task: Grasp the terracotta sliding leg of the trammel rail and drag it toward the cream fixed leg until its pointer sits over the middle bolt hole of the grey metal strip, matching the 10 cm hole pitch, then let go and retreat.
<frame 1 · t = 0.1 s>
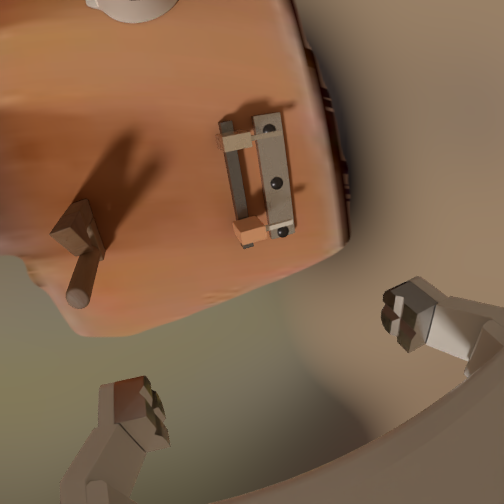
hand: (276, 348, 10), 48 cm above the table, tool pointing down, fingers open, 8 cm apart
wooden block: (88, 227, 52), on the table
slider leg: (263, 225, 57), point 5 cm above the table, slide at 7.0 cm
rail: (235, 185, 57), on the table
hole strip: (273, 176, 58), on the table
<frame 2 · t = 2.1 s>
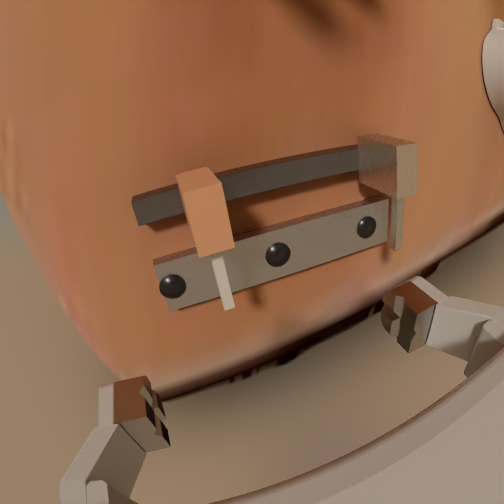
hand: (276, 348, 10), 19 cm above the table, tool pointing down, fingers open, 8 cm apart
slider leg: (211, 243, 23), point 5 cm above the table, slide at 7.0 cm
rail: (272, 171, 27), on the table
hole strip: (283, 246, 31), on the table
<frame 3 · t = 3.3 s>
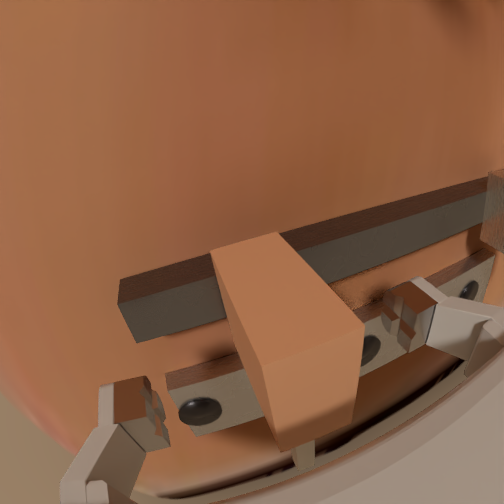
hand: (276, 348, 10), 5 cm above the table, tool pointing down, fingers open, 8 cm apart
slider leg: (286, 388, 11), point 5 cm above the table, slide at 7.0 cm
rail: (373, 225, 15), on the table
hole strip: (366, 334, 19), on the table
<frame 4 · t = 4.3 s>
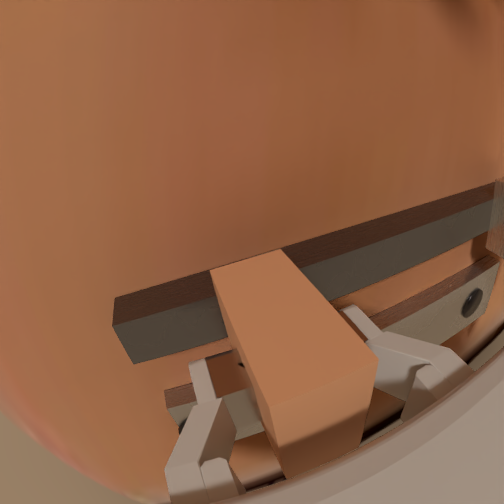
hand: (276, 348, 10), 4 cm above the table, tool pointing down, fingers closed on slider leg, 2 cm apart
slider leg: (291, 410, 10), point 5 cm above the table, slide at 7.0 cm, touching gripper
rail: (378, 237, 14), on the table
hole strip: (369, 345, 18), on the table
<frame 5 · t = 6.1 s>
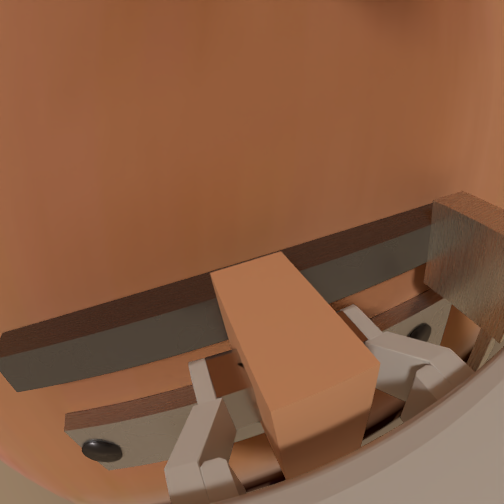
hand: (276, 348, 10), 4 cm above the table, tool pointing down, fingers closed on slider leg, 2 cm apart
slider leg: (291, 412, 10), point 5 cm above the table, slide at 0.9 cm, touching gripper
rail: (261, 278, 13), on the table
hole strip: (279, 386, 17), on the table
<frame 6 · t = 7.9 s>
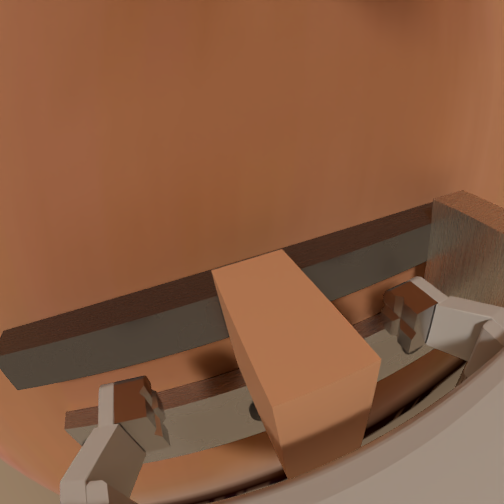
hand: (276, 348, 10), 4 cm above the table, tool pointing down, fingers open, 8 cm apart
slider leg: (292, 410, 10), point 5 cm above the table, slide at 0.9 cm
rail: (261, 276, 13), on the table
hole strip: (280, 384, 17), on the table
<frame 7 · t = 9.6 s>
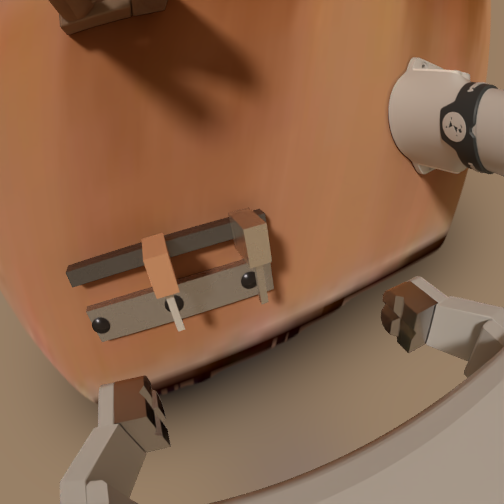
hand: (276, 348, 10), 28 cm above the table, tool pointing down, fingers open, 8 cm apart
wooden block: (114, 8, 23), on the table
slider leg: (167, 286, 33), point 5 cm above the table, slide at 0.9 cm
rail: (163, 244, 36), on the table
hole strip: (180, 296, 39), on the table
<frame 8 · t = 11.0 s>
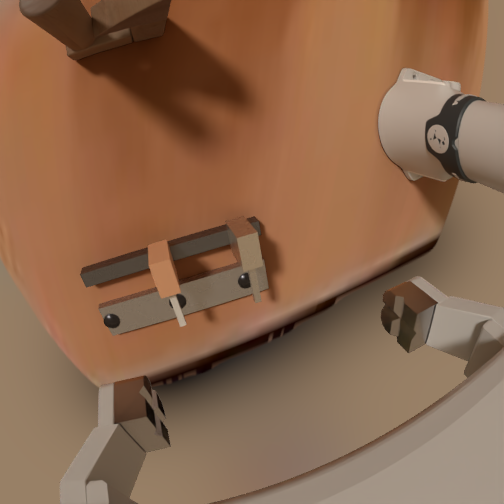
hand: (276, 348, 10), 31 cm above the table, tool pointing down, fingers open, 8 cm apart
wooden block: (116, 34, 27), on the table
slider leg: (170, 287, 37), point 5 cm above the table, slide at 0.9 cm
rail: (168, 248, 40), on the table
hole strip: (183, 295, 44), on the table
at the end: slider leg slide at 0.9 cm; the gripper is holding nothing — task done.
